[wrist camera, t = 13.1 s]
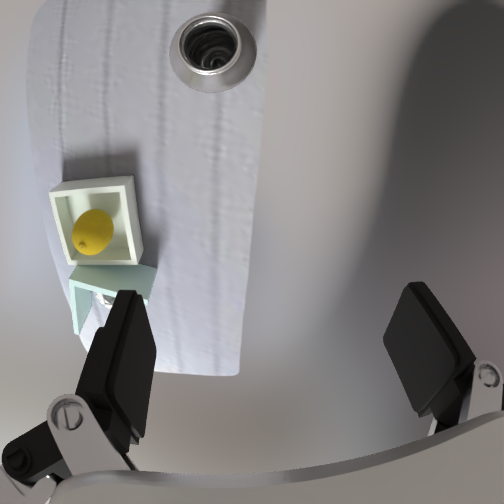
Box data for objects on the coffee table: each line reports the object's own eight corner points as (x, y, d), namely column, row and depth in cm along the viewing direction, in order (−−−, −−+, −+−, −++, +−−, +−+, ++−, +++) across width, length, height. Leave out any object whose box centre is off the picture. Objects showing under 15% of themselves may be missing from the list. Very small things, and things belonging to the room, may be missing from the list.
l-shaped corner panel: (87, 304, 48) (74, 333, 42) (87, 250, 42) (68, 278, 36) (149, 320, 51) (141, 352, 44) (157, 268, 45) (147, 300, 39)
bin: (61, 181, 36) (48, 192, 32) (133, 175, 37) (124, 185, 33) (77, 250, 42) (68, 264, 39) (144, 249, 43) (137, 264, 39)
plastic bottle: (199, 96, 32) (167, 112, 15) (186, 46, 28) (140, 11, 12) (251, 84, 32) (278, 85, 15) (239, 33, 28) (252, -17, 11)
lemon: (99, 240, 40) (79, 272, 34) (80, 210, 38) (55, 238, 31) (127, 225, 40) (109, 256, 33) (107, 193, 37) (84, 219, 30)
